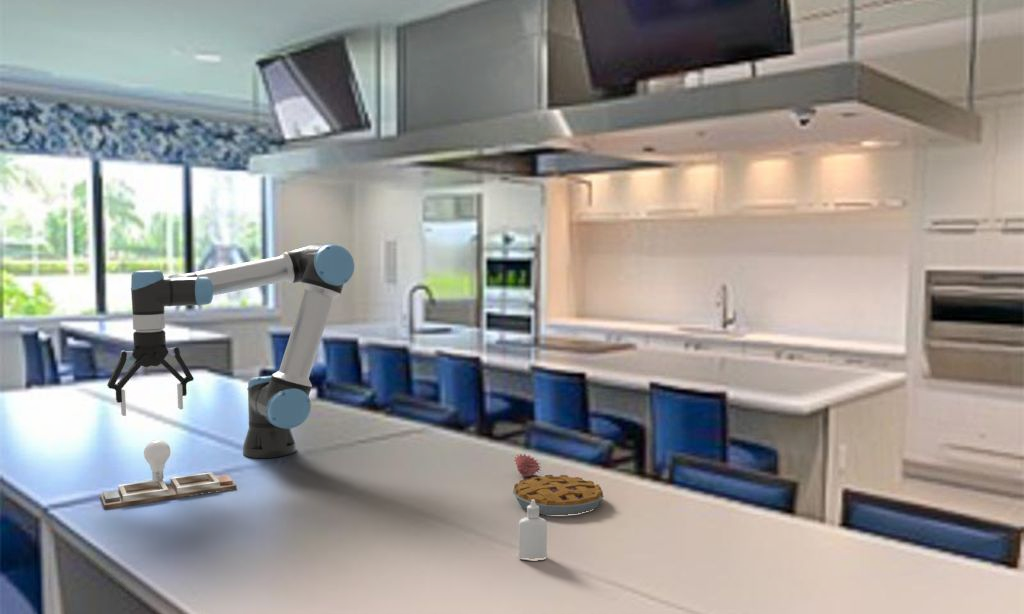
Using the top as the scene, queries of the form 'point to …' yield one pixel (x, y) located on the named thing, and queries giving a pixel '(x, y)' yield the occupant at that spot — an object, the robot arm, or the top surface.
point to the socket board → (165, 489)
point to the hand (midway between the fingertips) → (152, 411)
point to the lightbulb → (157, 457)
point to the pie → (558, 494)
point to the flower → (527, 465)
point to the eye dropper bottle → (532, 534)
